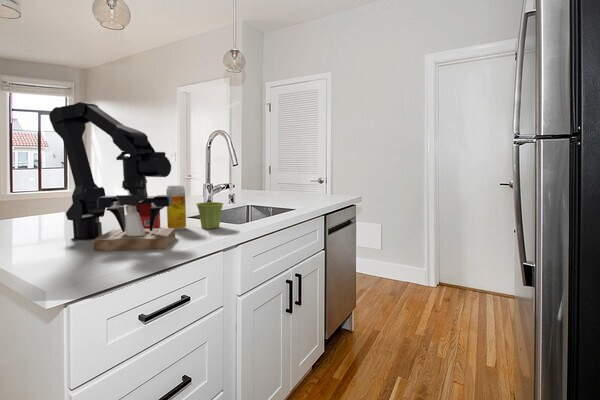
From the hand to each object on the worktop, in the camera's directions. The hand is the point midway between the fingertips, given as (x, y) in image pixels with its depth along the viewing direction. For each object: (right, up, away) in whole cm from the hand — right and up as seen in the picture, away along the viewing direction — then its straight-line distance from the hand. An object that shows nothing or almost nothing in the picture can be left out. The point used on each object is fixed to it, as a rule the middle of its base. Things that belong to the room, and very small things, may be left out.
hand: (137, 231), depth 99 cm
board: (0, -4, 0) cm, 4 cm away
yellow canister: (+3, -1, +22) cm, 23 cm away
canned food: (-7, -1, +23) cm, 24 cm away
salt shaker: (0, -4, 0) cm, 4 cm away
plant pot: (+14, -1, +25) cm, 29 cm away
